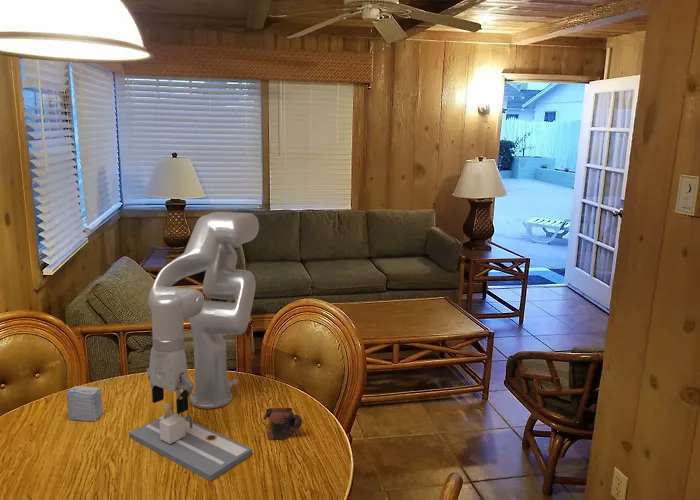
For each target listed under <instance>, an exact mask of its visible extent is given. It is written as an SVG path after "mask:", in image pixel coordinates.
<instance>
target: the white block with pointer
mask: <svg viewBox="0 0 700 500" xmlns="http://www.w3.org/2000/svg"><path fill="white" fill-rule="evenodd" d="M176 414H177V413H175V414H174V415H172V416H170V417H168V418H166V419H164V420H161V421H159V424H160V439H161V440H163V441H165V442H167V443H169V444H171V443H173V442H175V441H177V440H178V439H180V438H182V437H184V436H186V432H185V420H187V419H188V420H190V428H192V422H193V417H192V415H191V414H188V415H187V416H182V417H181V415H180V414H177V415H176ZM183 417H184V418H183Z"/></svg>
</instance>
